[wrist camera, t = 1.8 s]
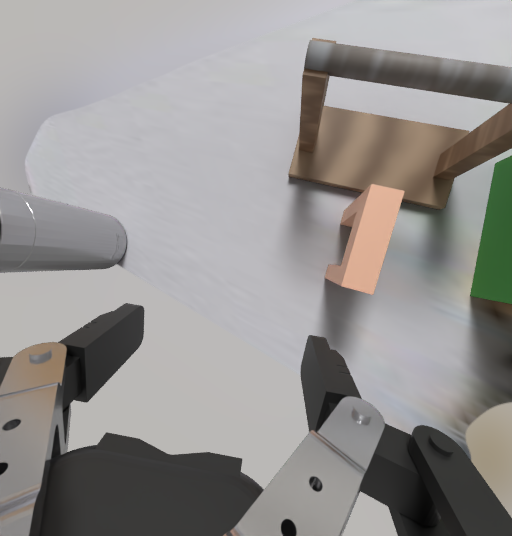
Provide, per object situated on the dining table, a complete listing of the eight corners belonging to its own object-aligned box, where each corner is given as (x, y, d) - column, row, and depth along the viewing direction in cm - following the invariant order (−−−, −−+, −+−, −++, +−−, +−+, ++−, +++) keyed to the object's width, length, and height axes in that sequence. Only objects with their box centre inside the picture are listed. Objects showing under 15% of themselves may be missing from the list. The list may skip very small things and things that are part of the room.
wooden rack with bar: (288, 176, 35) (285, 107, 20) (307, 108, 35) (319, -20, 19) (439, 209, 32) (579, 160, 17) (462, 135, 32) (631, 11, 16)
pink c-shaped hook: (324, 277, 35) (341, 286, 23) (344, 210, 34) (371, 183, 22) (345, 283, 34) (373, 294, 23) (365, 215, 34) (404, 190, 22)
